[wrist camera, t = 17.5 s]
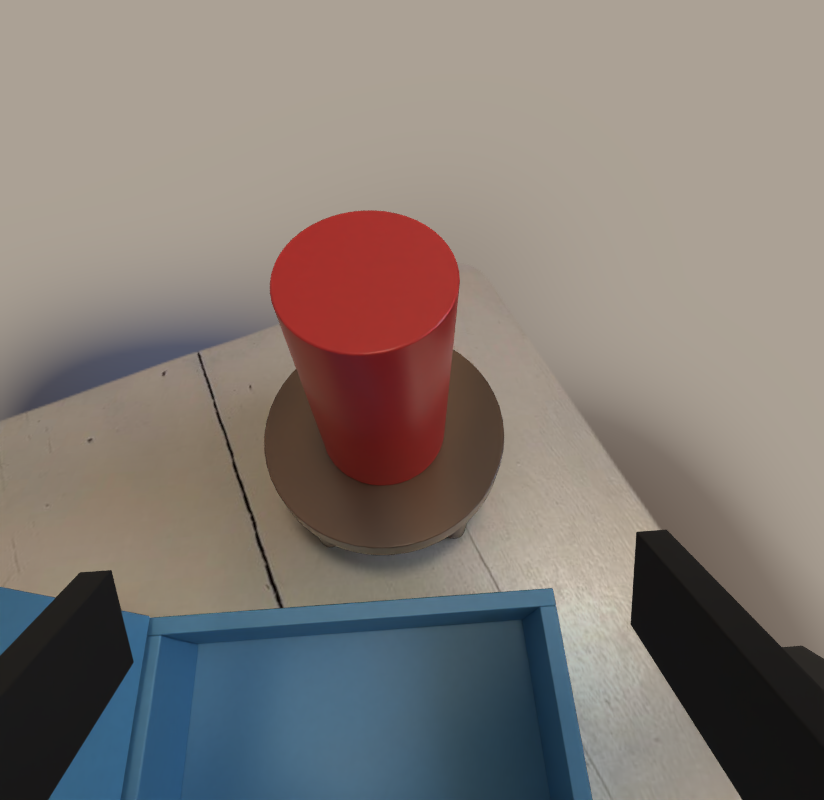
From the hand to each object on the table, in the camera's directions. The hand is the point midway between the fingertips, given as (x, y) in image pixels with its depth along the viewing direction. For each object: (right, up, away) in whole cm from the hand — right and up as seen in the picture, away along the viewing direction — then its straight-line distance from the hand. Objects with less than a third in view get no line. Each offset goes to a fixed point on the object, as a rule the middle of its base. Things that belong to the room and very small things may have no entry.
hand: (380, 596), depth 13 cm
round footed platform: (-1, 0, +22) cm, 22 cm away
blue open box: (-2, -13, +14) cm, 20 cm away
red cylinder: (-1, +3, +16) cm, 16 cm away
